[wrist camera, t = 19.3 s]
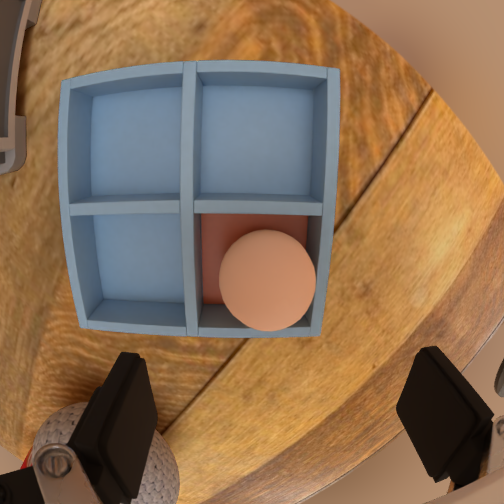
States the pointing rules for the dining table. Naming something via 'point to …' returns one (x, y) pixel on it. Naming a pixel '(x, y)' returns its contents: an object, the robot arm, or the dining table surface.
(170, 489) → the decorative ball
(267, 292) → the egg
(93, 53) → the dining table surface
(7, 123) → the alarm clock
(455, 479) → the robot arm
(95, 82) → the grid
